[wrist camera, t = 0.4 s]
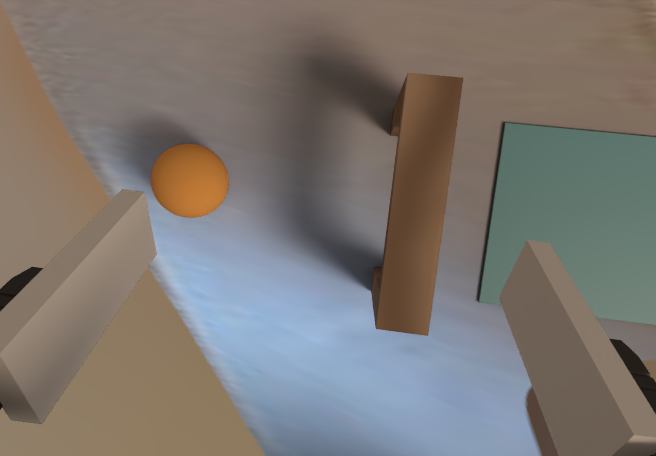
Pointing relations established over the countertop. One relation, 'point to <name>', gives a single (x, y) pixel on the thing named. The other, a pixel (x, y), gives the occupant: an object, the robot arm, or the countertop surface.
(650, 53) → the countertop surface
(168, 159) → the ball
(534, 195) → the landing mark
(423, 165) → the bridge
